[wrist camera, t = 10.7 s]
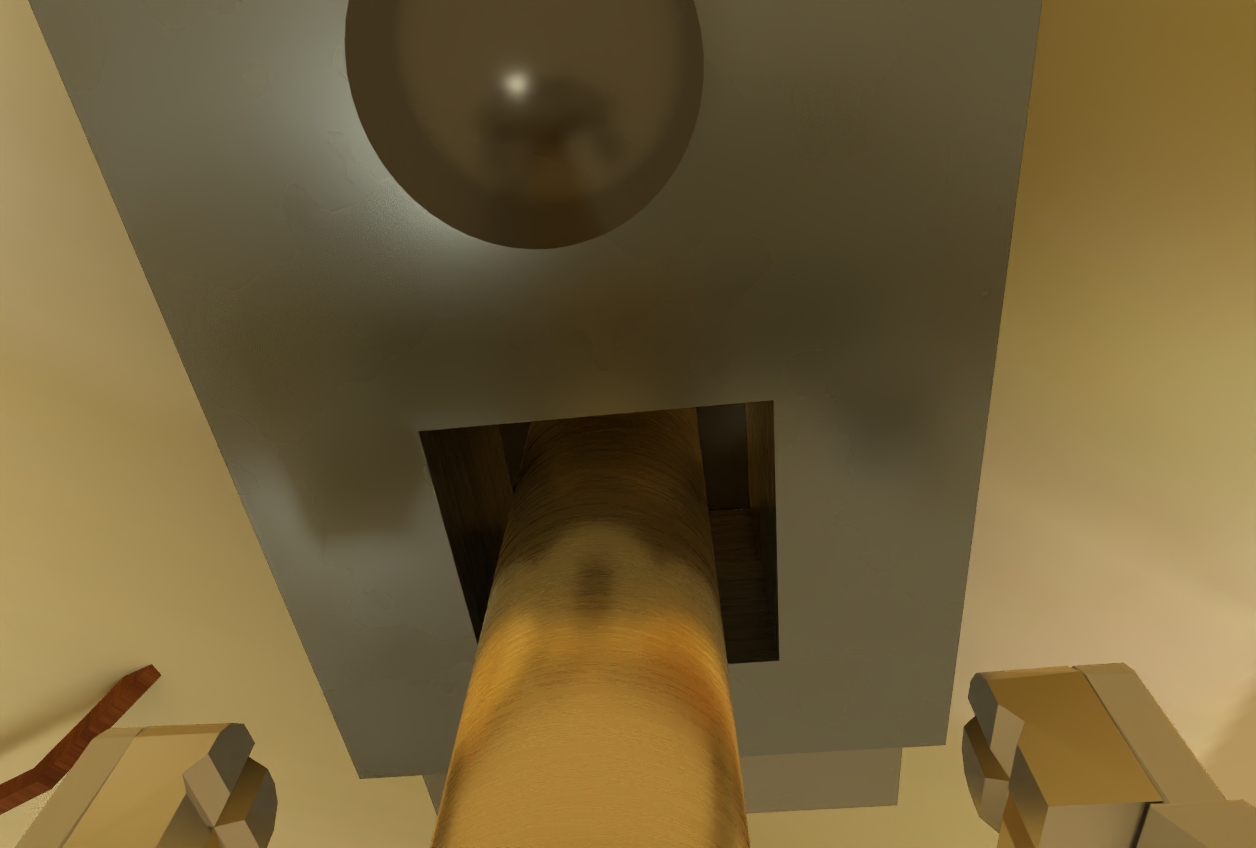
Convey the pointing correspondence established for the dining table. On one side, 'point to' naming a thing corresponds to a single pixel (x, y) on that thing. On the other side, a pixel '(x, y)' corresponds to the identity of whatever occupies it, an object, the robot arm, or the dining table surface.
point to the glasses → (77, 740)
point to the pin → (601, 654)
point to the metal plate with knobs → (585, 315)
